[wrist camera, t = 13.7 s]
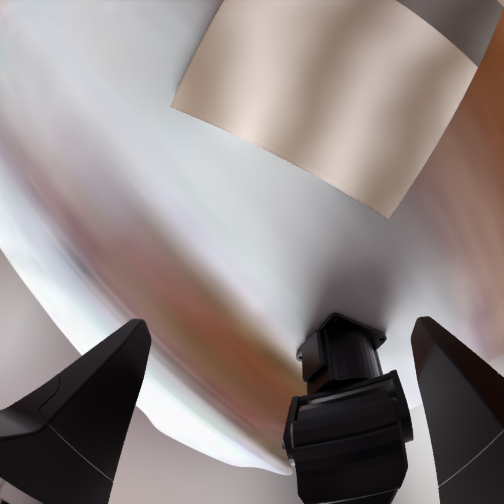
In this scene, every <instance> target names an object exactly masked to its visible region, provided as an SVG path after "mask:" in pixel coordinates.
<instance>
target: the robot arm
mask: <svg viewBox="0 0 504 504" xmlns="http://www.w3.org/2000/svg"><path fill="white" fill-rule="evenodd" d="M334 318H337V319H334ZM380 338H381V339H380ZM386 339H387V338H386V335H385V334H384V333H382V332H380V331H378V330H375V329H373V328H371V327H368V326H366V325H364V324H361V323H359V322H357V321H355V320H352V319H350V318H348V317H345V316H343V315H341V314H339V313H333V314H331V315H330V316H329V317H328V319H327V320H326V321H325V322H324V323H323V324H322V326H321V327H320V328H319V329H318V330H316V331H315V332H314V333H313V334H312V335H311V337H310V338H309V339H308V340H307V341H306V342H305V343H304V344H303V346H302V348H301V349H300V350H299V351H298V353H297V354H296V359H297V360H298V361H301V362H302V370H303V381H304V382H306V383H307V395H304V396H300V397H299V396H295V397H292V401H291V405H290V407H289V412H288V417H287V422H286V427H285V431H284V436H283V440H284V441H283V443H282V447H283V449H284V450H285V451H286V452H287V456H288V459H289V461H290V463H291V464H292V466H294V467H296V474H297V485H298V486H297V487H298V495H299V497H300V498H301V500H302V501H303V503H304V504H391V502H392V501H393V499H394V496H395V495H396V493H397V491H398V489H400V487H401V485H402V483H403V480H404V478H405V475H406V472H407V469H408V461H407V455H406V448H405V443H406V442H409V441H412V440H413V428H412V422H411V417H410V412H409V408H408V404H407V401H406V398H405V394H404V391H403V388H402V385H401V382H400V379H399V376H398V374H397V371H396V370H393V371H390V373H387V374H384V375H383V372H382V368H381V365H380V361H379V357H378V353H377V349H378V348H379V347H380V346H381V345H382V344H383V343H384V342H385V341H386ZM411 345H412V350H413V356H414V362H415V369H416V375H417V381H418V385H419V389H420V393H421V397H422V401H423V406H424V409H425V414H426V419H427V424H428V428H429V433H430V438H431V444H432V449H433V455H434V460H435V467H436V473H437V480H438V486H439V488H438V489H439V497H440V504H504V377H503V376H501V375H500V374H498V372H497V371H496V370H494V369H493V368H492V367H491V366H490V365H489V364H487V363H486V362H485V361H484V360H483V359H482V358H480V357H479V356H478V355H477V354H476V353H474V352H473V351H472V350H471V349H469V348H468V347H467V346H466V345H465V344H463V343H462V342H461V341H460V340H458V339H457V338H456V337H455V336H454V335H452V334H451V333H450V332H449V331H447V330H446V329H445V328H444V327H442V326H441V325H440V324H438V323H437V322H436V321H435V320H433V319H432V318H431V317H429V316H425V317H419V318H418V319H417V320H416V323H415V326H414V329H413V332H412V335H411ZM150 346H151V335H150V333H149V330H148V327H147V325H146V322H145V321H144V320H143V319H132V320H130V321H129V322H127V323H126V324H125V325H123V326H122V327H121V328H119V329H118V330H116V331H115V332H114V333H112V334H111V335H110V336H108V337H107V338H106V339H104V340H103V341H101V342H100V343H99V344H97V345H96V346H95V347H93V348H92V349H91V350H89V351H88V352H87V353H85V354H84V355H83V356H81V357H80V358H79V359H78V360H76V361H75V362H73V363H72V364H71V365H69V366H68V367H67V368H65V369H64V370H63V371H61V373H59V374H57V375H56V376H55V377H53V378H52V379H50V380H49V381H48V382H46V383H45V384H43V385H42V386H41V387H39V388H38V389H36V390H34V391H33V392H32V393H30V394H28V395H27V396H25V397H23V398H22V399H20V400H19V401H17V402H15V403H14V404H12V405H11V406H9V407H7V408H6V409H3V410H0V504H108V502H109V498H110V493H111V489H112V486H113V481H114V477H115V473H116V470H117V466H118V462H119V459H120V455H121V451H122V448H123V445H124V441H125V438H126V434H127V431H128V427H129V424H130V421H131V417H132V414H133V411H134V408H135V405H136V401H137V398H138V395H139V392H140V389H141V386H142V383H143V379H144V375H145V370H146V365H147V360H148V356H149V351H150Z"/></svg>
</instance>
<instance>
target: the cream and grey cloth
mask: <svg viewBox="0 0 504 504" xmlns="http://www.w3.org/2000/svg"><path fill="white" fill-rule="evenodd" d="M503 8H504V0H224V1H223V3H222V5H221V6H220V8H219V10H218V12H217V13H216V15H215V17H214V19H213V20H212V22H211V24H210V26H209V28H208V30H207V31H206V33H205V35H204V37H203V39H202V41H201V43H200V45H199V47H198V49H197V51H196V53H195V55H194V57H193V59H192V61H191V63H190V65H189V67H188V69H187V71H186V73H185V75H184V78H183V80H182V82H181V84H180V86H179V89H178V91H177V93H176V95H175V98H174V100H173V102H172V105H171V108H174V109H176V110H179V111H181V112H184V113H186V114H189V115H191V116H193V117H196V118H198V119H200V120H203V121H205V122H207V123H209V124H212V125H214V126H216V127H218V128H221V129H223V130H225V131H227V132H229V133H232V134H234V135H236V136H238V137H240V138H242V139H244V140H246V141H249V142H251V143H253V144H255V145H257V146H259V147H261V148H263V149H265V150H267V151H269V152H271V153H273V154H275V155H277V156H279V157H281V158H283V159H285V160H286V161H288V162H290V163H292V164H294V165H296V166H298V167H300V168H302V169H303V170H305V171H307V172H309V173H311V174H313V175H314V176H316V177H318V178H320V179H322V180H323V181H325V182H327V183H329V184H331V185H332V186H334V187H336V188H338V189H339V190H341V191H343V192H344V193H346V194H348V195H349V196H351V197H353V198H355V199H356V200H358V201H360V202H361V203H363V204H364V205H366V206H368V207H369V208H371V209H373V210H374V211H376V212H377V213H379V214H381V215H382V216H384V217H385V218H387V219H388V220H389V218H390V217H391V215H392V214H393V212H394V211H395V209H396V208H397V206H398V205H399V204H400V202H401V201H402V199H403V198H404V196H405V194H406V193H407V191H408V190H409V188H410V187H411V185H412V184H413V182H414V181H415V179H416V177H417V176H418V174H419V173H420V171H421V170H422V168H423V166H424V165H425V163H426V161H427V160H428V158H429V157H430V155H431V153H432V152H433V150H434V148H435V147H436V145H437V143H438V141H439V140H440V138H441V136H442V135H443V133H444V131H445V129H446V128H447V126H448V124H449V122H450V120H451V119H452V117H453V115H454V113H455V111H456V109H457V108H458V106H459V104H460V102H461V100H462V98H463V96H464V94H465V92H466V90H467V89H468V87H469V85H470V83H471V81H472V79H473V77H474V74H475V72H476V70H477V68H478V67H479V65H480V63H481V61H482V58H483V56H484V54H485V52H486V50H487V47H488V45H489V43H490V41H491V38H492V36H493V33H494V31H495V29H496V26H497V24H498V21H499V19H500V16H501V14H502V11H503Z"/></svg>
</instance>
